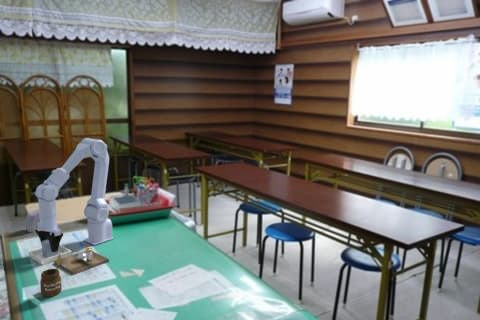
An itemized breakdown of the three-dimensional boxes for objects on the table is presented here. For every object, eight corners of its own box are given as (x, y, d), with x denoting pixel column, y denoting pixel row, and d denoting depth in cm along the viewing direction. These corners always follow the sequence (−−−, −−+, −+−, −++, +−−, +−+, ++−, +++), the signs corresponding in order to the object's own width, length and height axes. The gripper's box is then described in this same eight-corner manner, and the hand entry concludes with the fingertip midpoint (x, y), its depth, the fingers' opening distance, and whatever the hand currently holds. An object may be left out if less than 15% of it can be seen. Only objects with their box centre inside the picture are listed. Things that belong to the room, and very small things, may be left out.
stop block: (52, 252, 147) (52, 238, 146) (57, 255, 145) (56, 240, 144) (42, 255, 144) (41, 241, 143) (47, 258, 141) (46, 243, 140)
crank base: (89, 251, 149) (88, 249, 149) (109, 261, 141) (108, 258, 141) (54, 263, 139) (54, 260, 138) (73, 274, 130) (73, 271, 130)
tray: (57, 248, 152) (57, 243, 152) (71, 255, 145) (71, 250, 145) (29, 256, 143) (28, 252, 143) (42, 265, 137) (42, 260, 136)
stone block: (34, 235, 165) (32, 213, 164) (25, 234, 166) (23, 212, 164) (52, 226, 177) (51, 206, 175) (43, 225, 178) (42, 205, 176)
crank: (74, 259, 139) (73, 245, 138) (83, 256, 142) (82, 242, 141) (86, 266, 134) (85, 251, 133) (95, 262, 137) (94, 248, 136)
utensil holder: (38, 292, 118) (35, 256, 116) (59, 285, 123) (56, 251, 121) (44, 299, 114) (41, 263, 112) (65, 292, 118) (63, 257, 116)
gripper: (28, 213, 143) (30, 246, 145) (46, 222, 134) (48, 257, 136) (47, 209, 148) (49, 241, 151) (65, 217, 140) (67, 251, 142)
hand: (50, 248), depth 144 cm, fingers open, 7 cm apart
